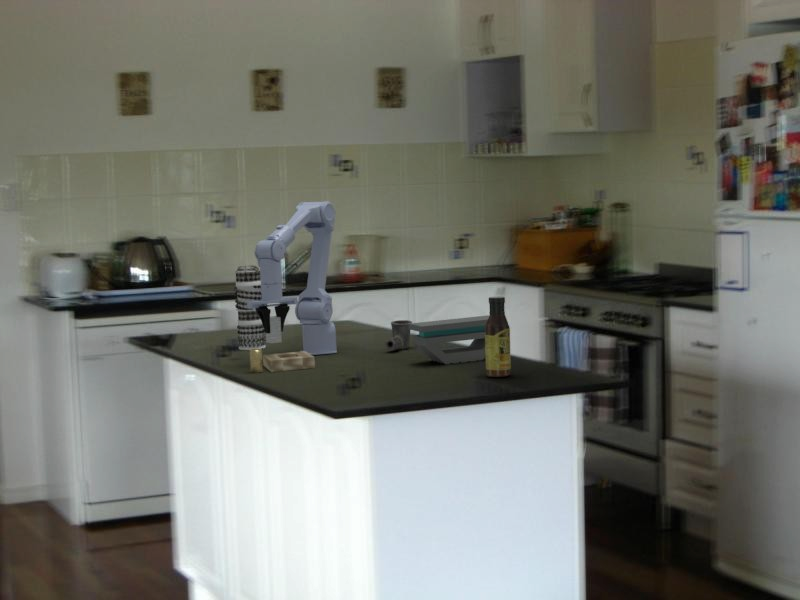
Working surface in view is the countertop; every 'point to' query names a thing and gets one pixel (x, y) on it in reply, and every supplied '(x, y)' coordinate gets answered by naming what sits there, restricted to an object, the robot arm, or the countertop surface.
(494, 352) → the sauce bottle
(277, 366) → the socket block
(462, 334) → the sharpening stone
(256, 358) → the cylinder
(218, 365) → the countertop surface
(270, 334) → the square bit
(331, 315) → the robot arm
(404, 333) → the pipe
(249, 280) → the decorative candle
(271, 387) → the countertop surface
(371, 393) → the countertop surface
